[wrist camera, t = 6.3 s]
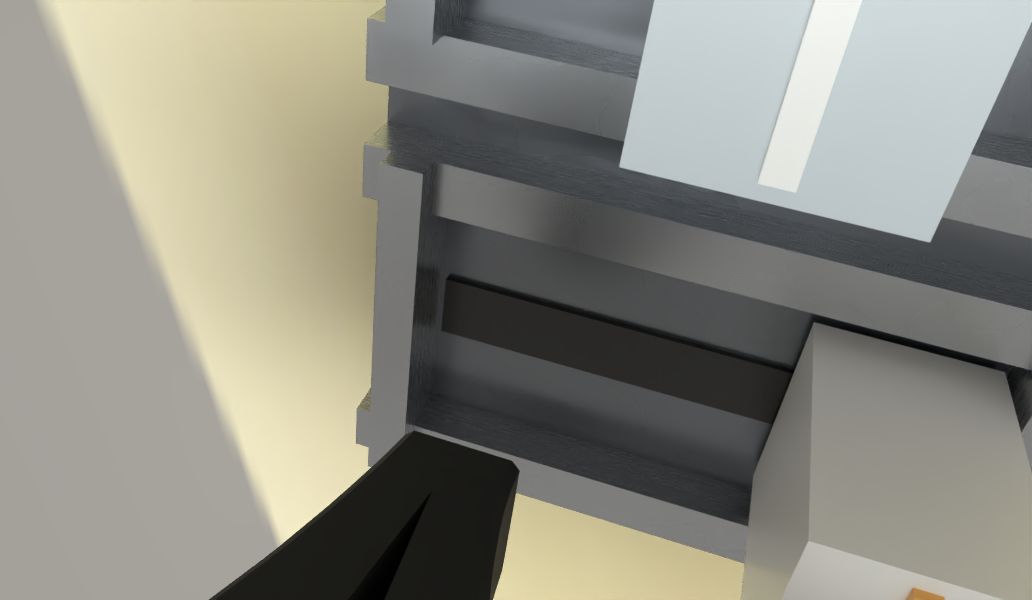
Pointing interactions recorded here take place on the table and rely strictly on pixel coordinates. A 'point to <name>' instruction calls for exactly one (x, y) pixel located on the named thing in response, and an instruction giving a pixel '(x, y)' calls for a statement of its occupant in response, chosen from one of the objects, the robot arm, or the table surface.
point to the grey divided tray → (636, 271)
